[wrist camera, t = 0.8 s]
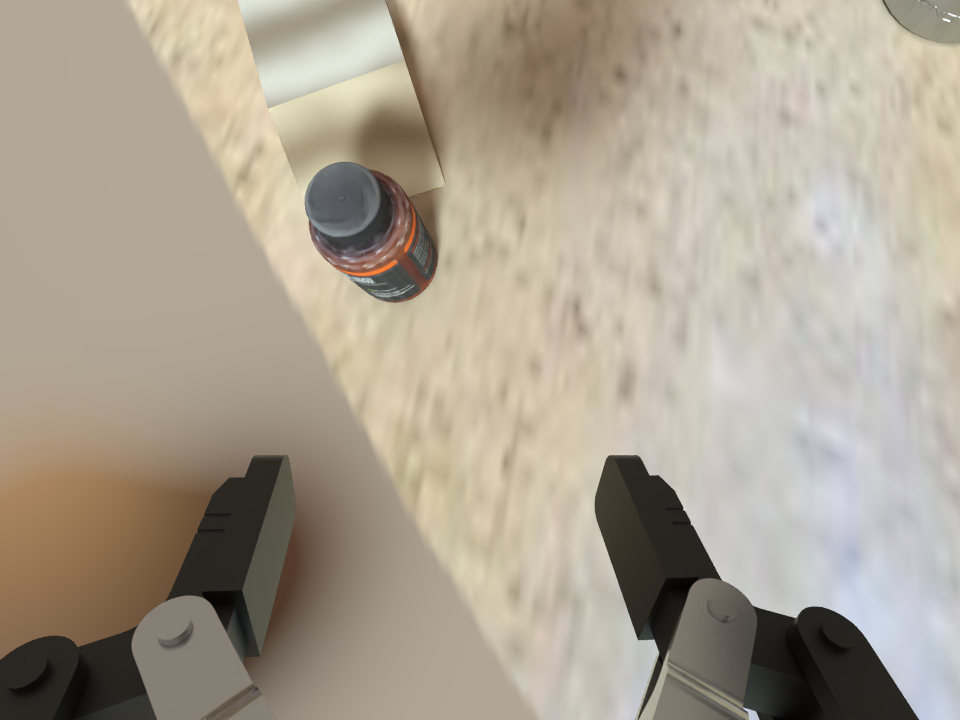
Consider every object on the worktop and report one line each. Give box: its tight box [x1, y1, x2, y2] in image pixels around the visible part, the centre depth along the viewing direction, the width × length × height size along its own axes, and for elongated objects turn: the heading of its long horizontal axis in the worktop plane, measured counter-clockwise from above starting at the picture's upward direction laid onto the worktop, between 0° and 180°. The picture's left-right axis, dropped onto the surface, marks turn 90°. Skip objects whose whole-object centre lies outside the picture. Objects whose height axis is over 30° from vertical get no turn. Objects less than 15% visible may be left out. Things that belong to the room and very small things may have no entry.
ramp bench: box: [238, 0, 445, 202], centre depth 38 cm, size 18×10×4 cm, turn 18°
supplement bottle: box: [305, 162, 437, 303], centre depth 32 cm, size 6×6×11 cm
